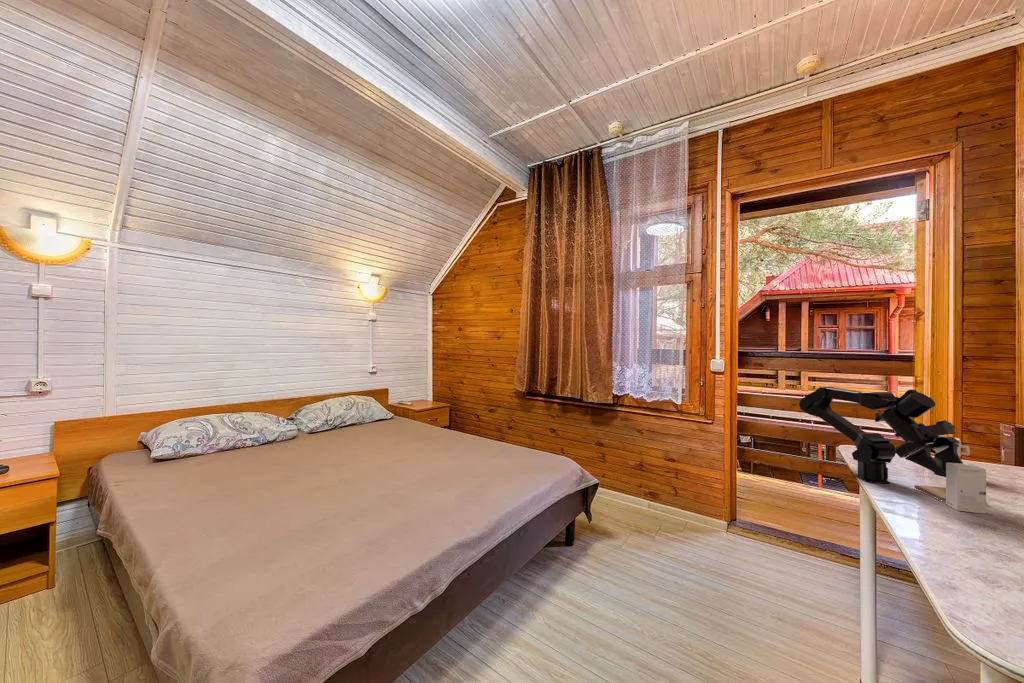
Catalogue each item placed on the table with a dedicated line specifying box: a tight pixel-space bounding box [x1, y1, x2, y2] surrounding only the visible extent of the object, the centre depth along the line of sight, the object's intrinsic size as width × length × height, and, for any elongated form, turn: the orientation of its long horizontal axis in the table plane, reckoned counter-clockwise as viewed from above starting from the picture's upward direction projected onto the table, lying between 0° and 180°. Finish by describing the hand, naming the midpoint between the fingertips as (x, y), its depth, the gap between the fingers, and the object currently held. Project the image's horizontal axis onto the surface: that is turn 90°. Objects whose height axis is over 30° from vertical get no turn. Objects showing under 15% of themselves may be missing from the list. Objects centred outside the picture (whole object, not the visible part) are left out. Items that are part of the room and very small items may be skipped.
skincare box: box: [945, 462, 987, 514], centre depth 102 cm, size 6×4×12 cm
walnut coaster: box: [914, 484, 988, 506], centre depth 111 cm, size 10×10×1 cm
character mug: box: [930, 435, 971, 473], centre depth 129 cm, size 11×7×13 cm, turn 36°
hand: (955, 473), depth 104 cm, fingers open, 9 cm apart
